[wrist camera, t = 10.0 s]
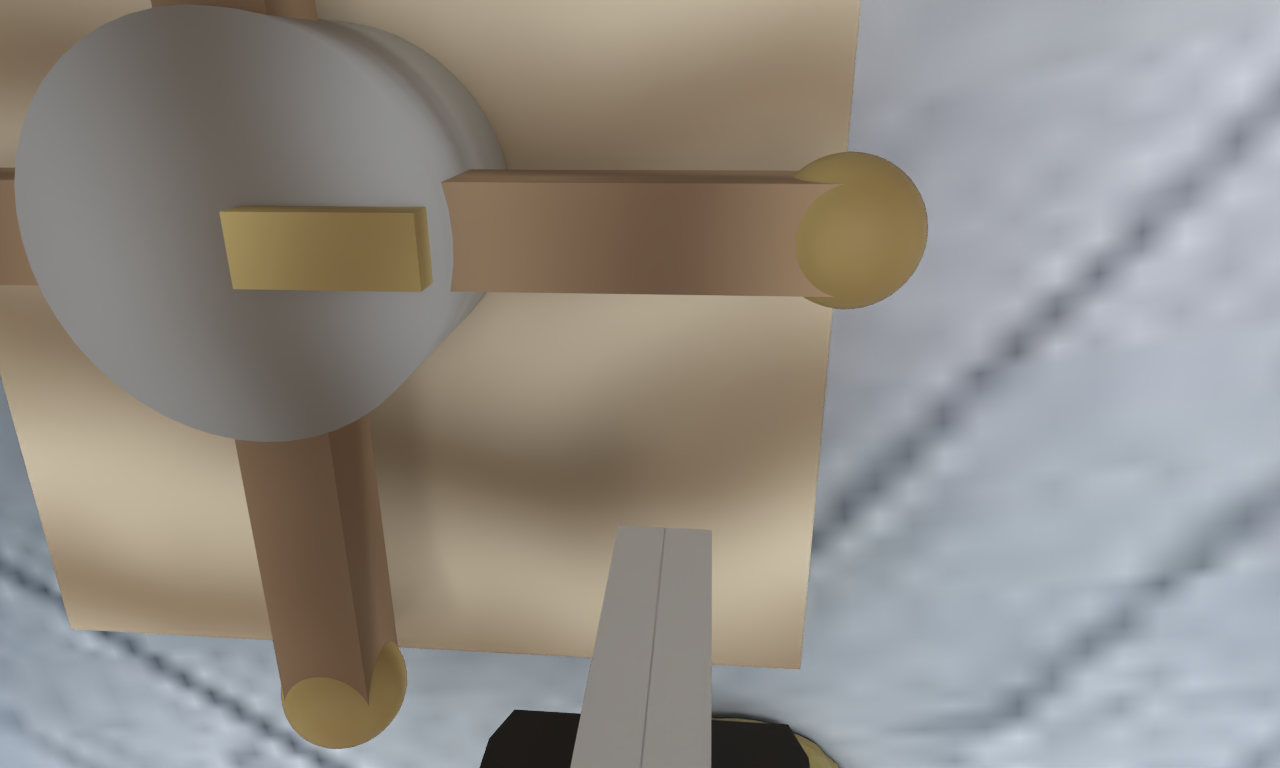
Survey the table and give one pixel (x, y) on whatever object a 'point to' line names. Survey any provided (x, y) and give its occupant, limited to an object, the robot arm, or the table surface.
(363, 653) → the capstan
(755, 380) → the stand
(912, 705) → the table surface
